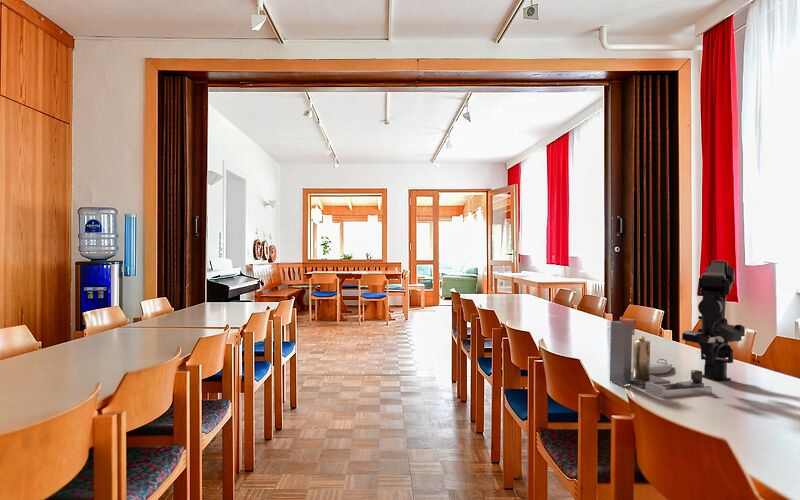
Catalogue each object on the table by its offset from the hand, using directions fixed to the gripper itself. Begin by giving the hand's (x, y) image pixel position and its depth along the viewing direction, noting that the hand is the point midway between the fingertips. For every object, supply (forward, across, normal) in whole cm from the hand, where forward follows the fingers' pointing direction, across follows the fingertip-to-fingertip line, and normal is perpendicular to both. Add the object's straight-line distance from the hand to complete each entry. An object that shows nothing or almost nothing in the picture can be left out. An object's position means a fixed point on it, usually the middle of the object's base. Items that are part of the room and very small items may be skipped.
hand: (711, 362), depth 150 cm
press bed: (+8, -18, +12) cm, 23 cm away
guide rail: (+8, -13, 0) cm, 15 cm away
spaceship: (+8, 0, +22) cm, 23 cm away
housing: (+7, -16, +12) cm, 21 cm away
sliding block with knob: (+8, -9, 0) cm, 12 cm away
